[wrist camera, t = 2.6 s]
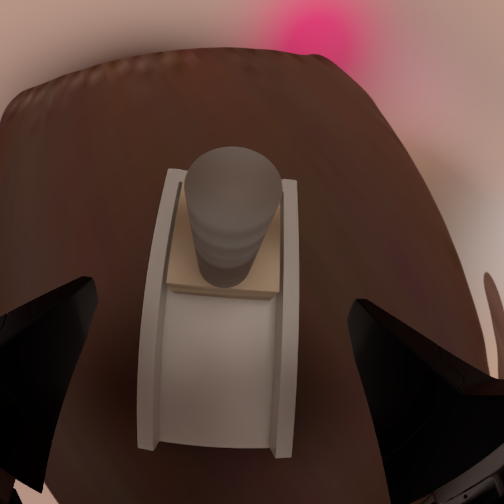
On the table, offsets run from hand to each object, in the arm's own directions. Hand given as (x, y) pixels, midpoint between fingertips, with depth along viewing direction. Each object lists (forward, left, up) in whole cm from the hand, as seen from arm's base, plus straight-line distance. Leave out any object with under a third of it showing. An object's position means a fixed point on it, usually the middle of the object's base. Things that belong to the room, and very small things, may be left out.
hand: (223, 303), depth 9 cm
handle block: (+5, +3, -9) cm, 11 cm away
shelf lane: (+1, 0, -11) cm, 11 cm away
